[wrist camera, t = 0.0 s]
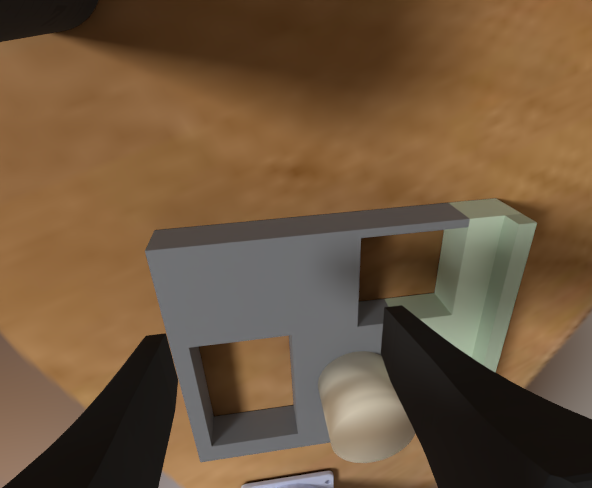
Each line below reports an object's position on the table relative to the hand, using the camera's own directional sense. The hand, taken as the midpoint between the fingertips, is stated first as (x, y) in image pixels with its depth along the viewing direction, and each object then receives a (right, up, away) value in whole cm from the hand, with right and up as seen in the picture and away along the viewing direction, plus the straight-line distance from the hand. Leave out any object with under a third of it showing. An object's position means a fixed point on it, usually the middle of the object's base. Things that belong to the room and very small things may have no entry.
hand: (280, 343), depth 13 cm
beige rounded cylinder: (+4, -6, +12) cm, 14 cm away
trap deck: (+3, -2, +13) cm, 14 cm away
